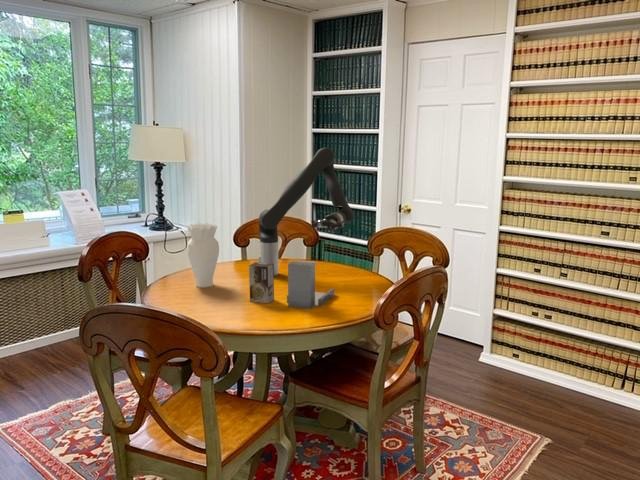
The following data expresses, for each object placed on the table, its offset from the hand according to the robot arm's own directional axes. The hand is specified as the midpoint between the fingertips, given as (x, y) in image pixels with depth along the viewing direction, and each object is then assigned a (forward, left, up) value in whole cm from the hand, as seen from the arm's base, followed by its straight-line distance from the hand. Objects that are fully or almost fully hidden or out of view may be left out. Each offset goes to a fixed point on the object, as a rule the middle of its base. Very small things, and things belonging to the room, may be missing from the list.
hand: (322, 226), depth 243 cm
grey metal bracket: (0, -17, -30) cm, 34 cm away
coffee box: (-19, -24, -30) cm, 43 cm away
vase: (-55, -12, -30) cm, 64 cm away
